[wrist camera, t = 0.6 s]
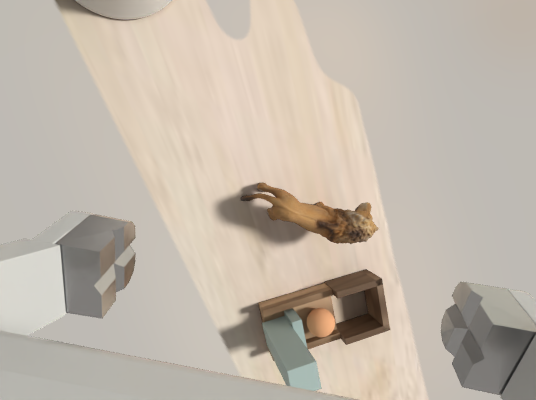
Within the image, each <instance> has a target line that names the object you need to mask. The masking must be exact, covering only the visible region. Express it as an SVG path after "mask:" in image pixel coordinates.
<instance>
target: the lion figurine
mask: <svg viewBox="0 0 536 400" xmlns="http://www.w3.org/2000/svg"><path fill="white" fill-rule="evenodd" d="M257 189H258V190H259V191H261V192H269V193H272V194H273V195H274V196H275V197H276V198H275V197H271V196H269V195H265V194H261V193H258V194H254V195H251V196H248V195H246V196H243V197H241V201H250V200H252V199H255V198H261V199H265V200H267V201H269V202H270V203H272V204H273V206H272V208H268V209H267V211H268V213H269V217H270V218H271V219H272V220H277V219H280V220H282V221H289V222H294V223H296V224H298V225H299V226H301V227H303V228H305V229H306V230H308V231H311V232H314V233H318V234H321V235H322V236H323V237H326V238H327V239H328V240H329V241H331V242H334V243H350V244H352V243H357V242H363V241H365V242H366V241H367V240H368V238H371V237H372V235H373V234H374V232H375V231H377V230H378V229H379V228H378V227H376V225H375V224H374V222H373V221H372V216H371V214H370V211H371V205H370V203H361V204H360V205H359V206H358V207H357V208H356V210H355V211H351V210H342V209H333V208H330V207H328V206H324V204H323V203H322V202H319V203H317V204H315V205H311V204H306V203H300V202H299V201H298V200H297V199H296V198H295V197H294V196H293V195H291V194H290V193H288V192H286V191H285V190H282V189H278V188H274V187H270V186H268V185H266V184H265V183H259V184H258V187H257Z"/></svg>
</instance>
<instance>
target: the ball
mask: <svg viewBox="0 0 536 400" xmlns="http://www.w3.org/2000/svg"><path fill="white" fill-rule="evenodd" d="M307 327H308V329H309V331H310V332H311V333H312V334H313V335H315V336H317V337H326V336H328V335H330V334H331V333H332V331H333V330H334V327H335V319H334V317H333V315H332V313H331V312H330V311H328V310H327V309H324V308H316V309H314V310H312V311H311V312H310V313H309V315H308V317H307Z"/></svg>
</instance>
